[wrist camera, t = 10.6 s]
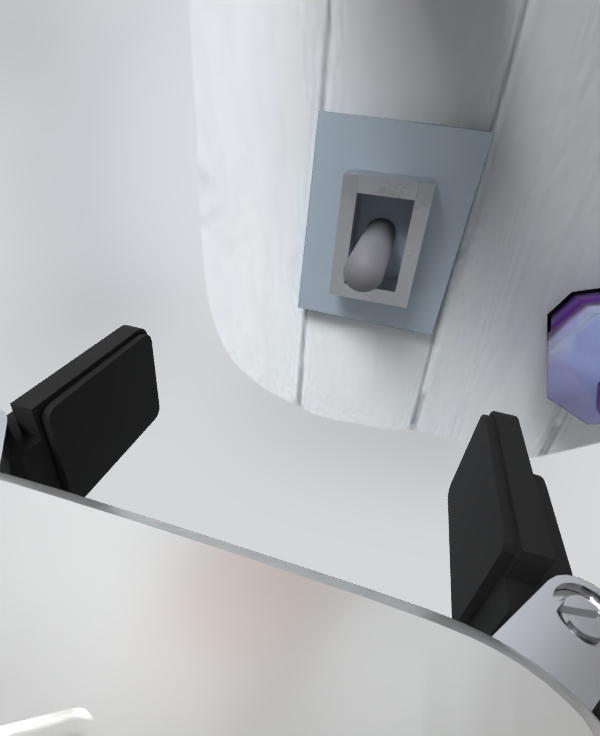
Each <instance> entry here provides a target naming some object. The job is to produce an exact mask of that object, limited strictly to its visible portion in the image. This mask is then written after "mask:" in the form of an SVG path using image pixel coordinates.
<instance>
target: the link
mask: <svg viewBox="0 0 600 736" xmlns="http://www.w3.org/2000/svg"><path fill="white" fill-rule="evenodd" d="M435 186H436V180H435V178H426V177H418V176H410V175H401V174H393V173H385V172H377V171H368V170H360V169H352V168H351V169H350V170H348V171H347V172H345V173H344V174H343V183H342V191H341V199H340V207H339V215H338V223H337V231H336V239H335V247H334V255H333V263H332V271H331V280H330V288H329V294H331V295H337V296H342V297H348V298H353V299H359V300H365V301H370V302H376V303H381V304H387V305H393V306H398V307H404V308H407V304H408V300H409V296H410V291H411V287H412V283H413V279H414V274H415V270H416V266H417V262H418V258H419V253H420V249H421V245H422V241H423V236H424V232H425V228H426V224H427V220H428V215H429V211H430V207H431V203H432V198H433V194H434V190H435ZM362 194H370V195H378V196H385V197H393V198H401V199H408V200H415V202H414V207H413V211H412V216H411V221H410V225H409V230H408V235H407V239H406V244H405V249H404V253H403V258H402V262H401V267H400V272H399V276H398V278H395V277H388V276H384V277H383V280H382V282H381V283H380V285H379V286H378V287H377V288H376V289H374V290H372V291H369V292H358V291H355V290H353V289H352V288H350V287H349V286H348V285H347V283H346V282H345V280H344V276H343V269H344V265H345V263H346V261H347V260H348V258H349V256H350V255H351V253H352V251H353V250H354V247H355V240H356V234H357V227H358V220H359V214H360V207H361V200H362Z"/></svg>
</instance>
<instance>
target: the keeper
mask: <svg viewBox="0 0 600 736" xmlns="http://www.w3.org/2000/svg"><path fill="white" fill-rule="evenodd" d="M493 135H494V132H488V131H480V130H472V129H464V128H456V127H448V126H440V125H431V124H423V123H415V122H407V121H399V120H391V119H383V118H375V117H367V116H358V115H350V114H342V113H334V112H326V111H319V114H318V123H317V133H316V142H315V152H314V161H313V171H312V180H311V189H310V199H309V208H308V218H307V227H306V236H305V246H304V255H303V265H302V274H301V283H300V293H299V302H298V308H303V309H308V310H313V311H318V312H322V313H327V314H332V315H337V316H342V317H346V318H351V319H356V320H361V321H365V322H370V323H375V324H380V325H385V326H389V327H394V328H399V329H404V330H408V331H413V332H418V333H423V334H428V335H432V332H433V329H434V325H435V322H436V319H437V316H438V312H439V309H440V306H441V303H442V300H443V296H444V293H445V290H446V287H447V283H448V280H449V277H450V274H451V271H452V267H453V264H454V261H455V258H456V254H457V251H458V248H459V245H460V241H461V238H462V235H463V232H464V229H465V225H466V222H467V219H468V216H469V212H470V209H471V206H472V203H473V200H474V196H475V193H476V190H477V187H478V183H479V180H480V177H481V174H482V171H483V167H484V164H485V161H486V158H487V154H488V151H489V148H490V145H491V142H492V138H493ZM351 168H352V169H360V170H368V171H377V172H385V173H393V174H401V175H410V176H418V177H426V178H435V180H436V186H435V190H434V194H433V198H432V203H431V207H430V211H429V215H428V220H427V224H426V228H425V232H424V236H423V241H422V245H421V249H420V253H419V258H418V262H417V266H416V270H415V274H414V279H413V283H412V287H411V291H410V296H409V300H408V304H407V308H404V307H398V306H393V305H387V304H381V303H376V302H370V301H365V300H359V299H353V298H348V297H342V296H337V295H331V294H329V288H330V280H331V271H332V263H333V255H334V247H335V239H336V231H337V223H338V215H339V207H340V199H341V191H342V183H343V174H344V173H345V172H347V171H348V170H350V169H351ZM414 202H415V200H408V199H401V198H393V197H385V196H378V195H370V194H362V200H361V207H360V214H359V220H358V227H357V234H356V240H355V247H354V250H353V251H352V253H351V255H350V256H349V258H348V260H347V261H346V263H345V265H344V269H343V276H344V280H345V282H346V283H347V285H348V286H349V287H350V288H352V289H353V290H355V291H358V292H369V291H372V290H374V289H376V288H377V287H378V286H379V285H380V283H381V282H382V280H383V277H384V276H388V277H395V278H398V276H399V272H400V267H401V262H402V258H403V253H404V249H405V244H406V239H407V235H408V230H409V225H410V221H411V216H412V211H413V207H414Z"/></svg>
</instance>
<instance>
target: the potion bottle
mask: <svg viewBox="0 0 600 736" xmlns="http://www.w3.org/2000/svg"><path fill="white" fill-rule="evenodd" d="M547 340H548V349H547V398H549V399H550V400H552V401H553V402H555V403H556V404H558V405H559V406H561V407H562V408H564V409H565V410H567V411H568V412H570V413H571V414H573V415H574V416H576V417H577V418H579V419H580V420H582V421H583V422H585V423H586V424H600V288H599V289H592V290H584V291H577V292H572V293H571V294H569V295H568V296H567V297H566V298H565V299H564V300H563V301H562V302H561V303H560V304H559V305H557V306H556V307H555V308H554V309H553V310H552V311H551V312H550V313H549V314H548V323H547Z"/></svg>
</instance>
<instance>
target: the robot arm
mask: <svg viewBox="0 0 600 736" xmlns="http://www.w3.org/2000/svg"><path fill="white" fill-rule="evenodd" d="M10 404H11V407H12V410H13V412H11V413H10V414H8V415H6V414H5V413H4V412H3V411H2V410H0V736H600V589H599V588H598V587H596V586H595V585H594V584H592V583H590V582H588V581H585V580H583V579H581V578H579V577H575V576H573V575H572V572H571V568H570V565H569V562H568V558H567V555H566V551H565V548H564V545H563V541H562V538H561V534H560V531H559V528H558V524H557V521H556V517H555V514H554V511H553V507H552V504H551V501H550V497H549V494H548V490H547V487H546V484H545V481H544V479H543V478H542V477H541V476H538V475H535V474H533V472H532V468H531V464H530V461H529V457H528V453H527V449H526V446H525V442H524V438H523V435H522V431H521V427H520V423H519V420H518V418H517V417H516V416H513V415H508V414H504V413H500V412H496V411H492V412H491V413H490V415H489V416H488V415H482V416H481V418H480V420H479V422H478V424H477V426H476V429H475V431H474V433H473V435H472V438H471V440H470V442H469V444H468V447H467V449H466V451H465V454H464V456H463V458H462V460H461V462H460V465H459V467H458V470H457V471H456V474H455V476H454V478H453V481H452V483H451V485H450V488H449V493H448V513H449V542H450V543H449V544H450V573H451V603H452V619H451V618H449V617H446V616H444V615H441V614H439V613H436V612H434V611H431V610H429V609H426V608H423V607H420V606H417V605H414V604H411V603H408V602H405V601H402V600H400V599H397V598H394V597H391V596H388V595H385V594H382V593H379V592H376V591H374V590H371V589H368V588H365V587H361V586H359V585H356V584H353V583H350V582H347V581H344V580H341V579H338V578H335V577H332V576H328V575H325V574H322V573H319V572H316V571H313V570H310V569H307V568H304V567H301V566H298V565H295V564H292V563H288V562H286V561H283V560H279V559H276V558H273V557H270V556H267V555H264V554H261V553H258V552H255V551H252V550H249V549H245V548H242V547H239V546H236V545H233V544H230V543H227V542H223V541H221V540H218V539H214V538H211V537H208V536H205V535H202V534H199V533H195V532H193V531H189V530H186V529H183V528H180V527H177V526H174V525H171V524H167V523H164V522H161V521H158V520H155V519H152V518H149V517H146V516H143V515H139V514H136V513H133V512H130V511H127V510H123V509H120V508H117V507H114V506H111V505H107V504H104V503H101V502H98V501H95V500H91V499H88V498H85V496H86V495H87V494H88V493H89V492H90V491H91V490H92V489H93V487H94V486H95V485H96V484H97V483H98V482H99V481H100V480H101V479H102V477H103V476H104V475H105V474H106V473H107V472H108V471H109V470H110V469H111V467H112V466H113V465H114V464H115V463H116V462H117V461H118V460H119V459H120V457H121V456H122V455H123V454H124V453H125V452H126V451H127V450H128V448H129V447H130V446H131V445H132V444H133V443H134V442H135V441H136V440H137V439H138V437H139V436H140V435H141V434H142V433H143V432H144V431H145V430H146V428H147V427H148V426H149V425H150V424H151V423H152V422H153V421H154V420H155V418H156V417H157V415H158V412H159V399H158V391H157V382H156V374H155V365H154V357H153V348H152V340H151V338H150V336H149V335H147V333H146V331H145V330H144V329H140V328H137V327H132V326H128V325H123V326H121V327H120V328H118V329H117V330H115V331H114V332H112V333H111V334H110V335H108V336H107V337H105V338H104V339H102V340H101V341H100V342H98V343H97V344H95V345H94V346H93V347H91V348H89V349H88V350H87V351H85V352H84V353H82V354H81V355H79V356H78V357H77V358H75V359H74V360H72V361H71V362H69V363H68V364H66V365H65V366H64V367H62V368H61V369H59V370H58V371H56V372H55V373H54V374H52V375H51V376H49V377H48V378H46V379H45V380H43V381H42V382H41V383H39V384H38V385H36V386H35V387H33V388H32V389H31V390H29V391H28V392H26V393H25V394H23V395H22V396H20V397H19V398H18V399H16V400H15V401H13V402H12V403H10Z"/></svg>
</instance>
